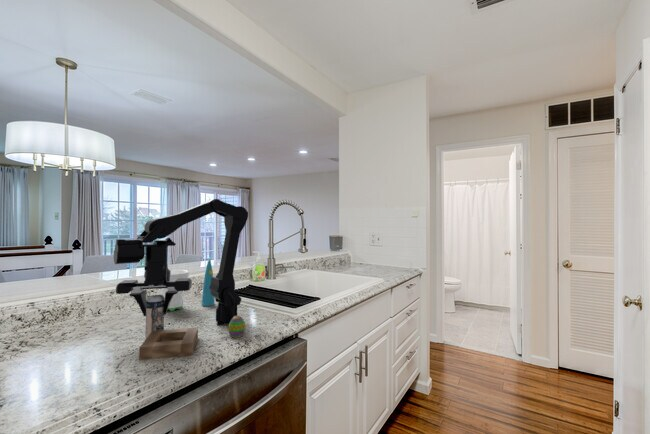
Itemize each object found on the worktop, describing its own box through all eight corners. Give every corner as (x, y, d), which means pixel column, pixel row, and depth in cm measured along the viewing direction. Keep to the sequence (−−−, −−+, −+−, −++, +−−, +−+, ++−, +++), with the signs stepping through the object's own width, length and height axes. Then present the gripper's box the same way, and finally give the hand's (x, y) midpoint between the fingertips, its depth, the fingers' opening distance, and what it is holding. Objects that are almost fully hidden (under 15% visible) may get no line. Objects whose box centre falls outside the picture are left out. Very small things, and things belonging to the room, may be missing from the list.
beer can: (155, 341, 86) (156, 298, 87) (141, 339, 87) (142, 297, 88) (167, 335, 91) (168, 294, 91) (153, 334, 92) (154, 294, 92)
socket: (197, 337, 90) (197, 327, 90) (192, 354, 78) (192, 342, 78) (151, 341, 86) (152, 330, 86) (139, 360, 75) (139, 347, 75)
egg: (240, 339, 89) (241, 318, 89) (225, 338, 90) (225, 317, 90) (247, 333, 94) (248, 313, 94) (233, 332, 95) (233, 312, 95)
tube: (215, 306, 123) (216, 258, 123) (202, 307, 121) (203, 258, 121) (213, 302, 130) (214, 256, 130) (201, 303, 127) (202, 256, 128)
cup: (193, 307, 120) (194, 271, 121) (166, 314, 111) (167, 275, 111) (177, 303, 126) (178, 269, 127) (149, 309, 117) (150, 272, 117)
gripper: (194, 257, 100) (193, 305, 100) (129, 258, 95) (128, 309, 94) (189, 262, 89) (188, 316, 89) (116, 263, 84) (114, 320, 84)
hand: (155, 315), depth 89 cm, fingers closed on beer can, 5 cm apart
